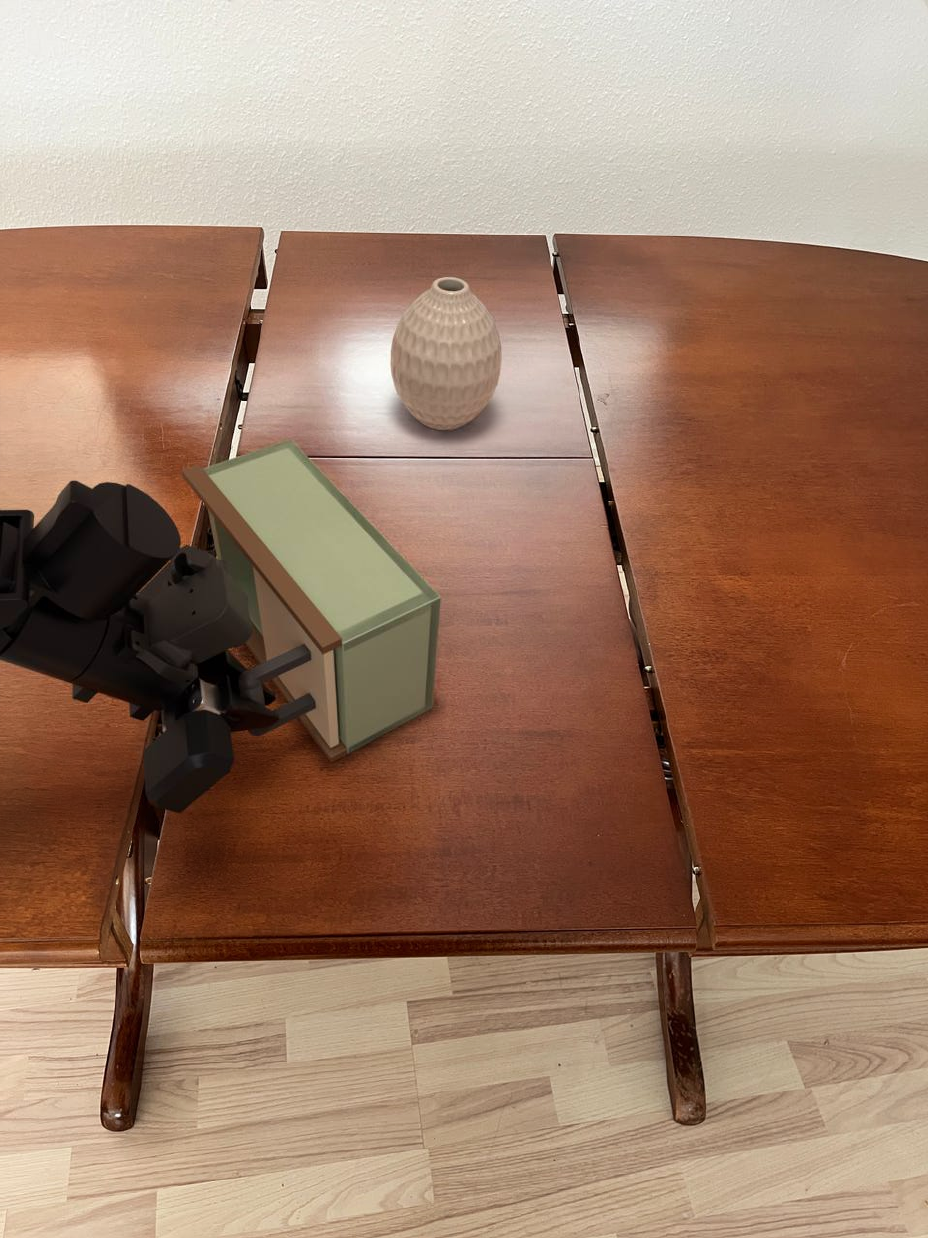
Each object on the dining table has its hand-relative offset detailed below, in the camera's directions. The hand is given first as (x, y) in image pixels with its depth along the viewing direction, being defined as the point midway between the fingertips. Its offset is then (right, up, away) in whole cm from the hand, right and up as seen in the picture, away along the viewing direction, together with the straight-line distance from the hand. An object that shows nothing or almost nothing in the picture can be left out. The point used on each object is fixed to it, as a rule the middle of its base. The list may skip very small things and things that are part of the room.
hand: (274, 710), depth 65 cm
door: (-2, -1, +6) cm, 7 cm away
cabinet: (+1, +5, +13) cm, 14 cm away
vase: (+12, +32, +40) cm, 52 cm away
